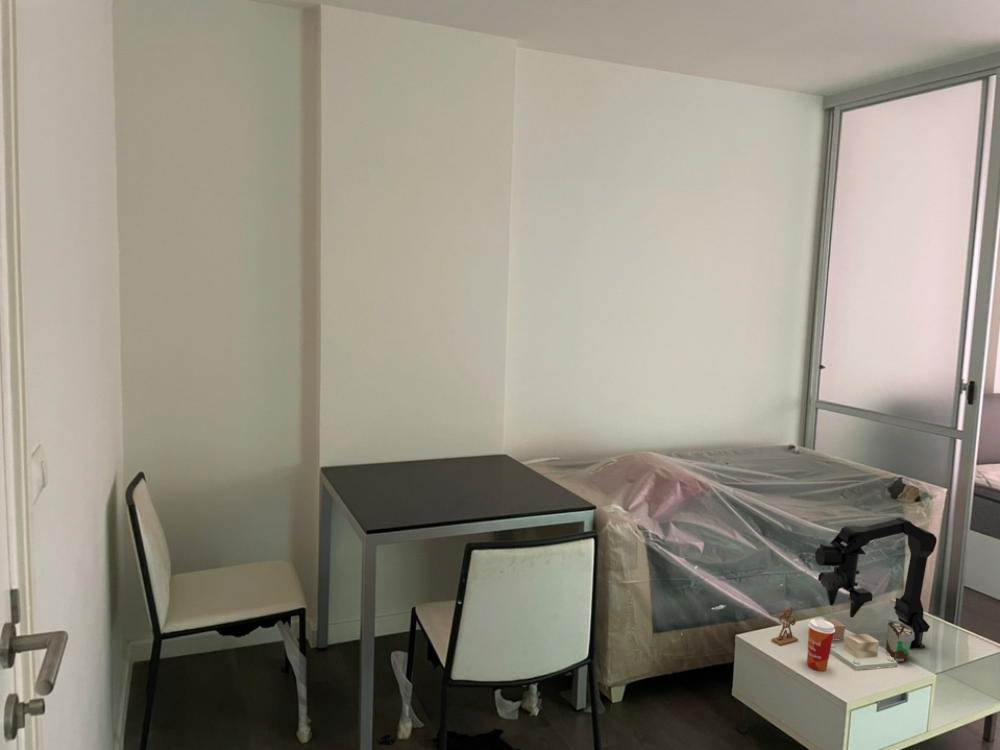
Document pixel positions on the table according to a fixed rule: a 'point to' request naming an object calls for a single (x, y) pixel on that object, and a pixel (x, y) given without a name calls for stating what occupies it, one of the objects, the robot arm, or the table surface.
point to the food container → (899, 640)
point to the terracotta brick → (837, 629)
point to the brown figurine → (788, 637)
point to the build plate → (861, 659)
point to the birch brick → (861, 645)
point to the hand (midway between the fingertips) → (841, 611)
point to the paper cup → (819, 644)
